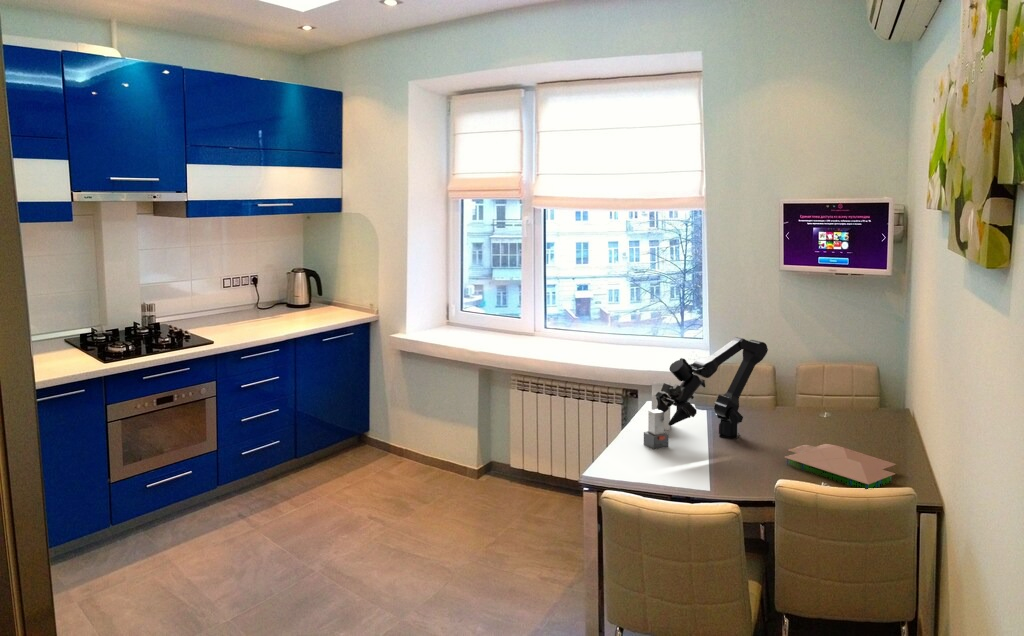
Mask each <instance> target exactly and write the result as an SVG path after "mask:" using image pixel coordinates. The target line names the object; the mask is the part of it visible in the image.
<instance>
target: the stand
mask: <svg viewBox="0 0 1024 636" xmlns="http://www.w3.org/2000/svg"><path fill="white" fill-rule="evenodd" d="M669 439H670V438H669V433H666V432H665V431H664V434H663V435H658V436H653V435H651V434H649V433H648V430H647V431H644V432H643V445H644V446H645V447H648V448H649V449H651V450H659V449H665V448H669V447H670V446H669Z"/></svg>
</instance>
